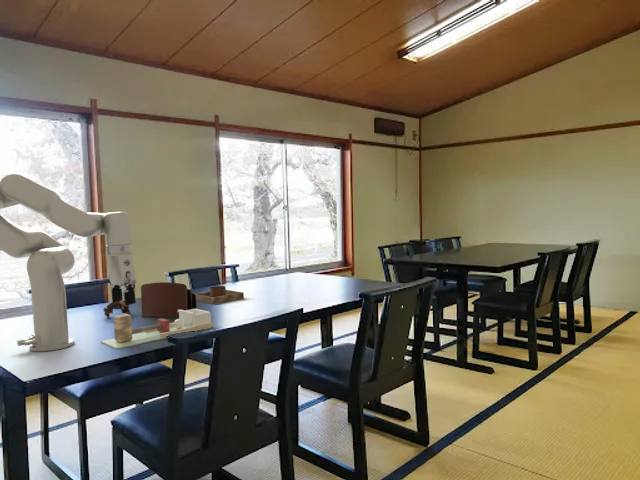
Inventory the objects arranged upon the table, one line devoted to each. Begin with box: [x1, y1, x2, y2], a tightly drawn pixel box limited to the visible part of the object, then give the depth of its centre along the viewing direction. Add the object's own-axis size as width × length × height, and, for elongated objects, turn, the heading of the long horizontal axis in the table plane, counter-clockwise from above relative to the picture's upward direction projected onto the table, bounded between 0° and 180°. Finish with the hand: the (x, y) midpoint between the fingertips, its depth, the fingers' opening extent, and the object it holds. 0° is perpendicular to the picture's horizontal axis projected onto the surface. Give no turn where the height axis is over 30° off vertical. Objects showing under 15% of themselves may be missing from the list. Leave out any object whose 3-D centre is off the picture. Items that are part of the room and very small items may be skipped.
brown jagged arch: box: [102, 299, 132, 318], centre depth 199 cm, size 12×10×8 cm
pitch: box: [100, 308, 214, 350], centre depth 167 cm, size 35×12×6 cm, turn 136°
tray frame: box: [194, 289, 245, 305], centre depth 230 cm, size 17×17×3 cm
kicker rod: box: [113, 313, 170, 342], centre depth 162 cm, size 17×5×8 cm, turn 136°
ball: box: [173, 318, 184, 329], centre depth 172 cm, size 4×4×4 cm
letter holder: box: [140, 281, 198, 318], centre depth 200 cm, size 10×20×14 cm, turn 82°
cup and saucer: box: [208, 285, 230, 297], centre depth 230 cm, size 12×12×6 cm
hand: (123, 302), depth 157 cm, fingers open, 9 cm apart
